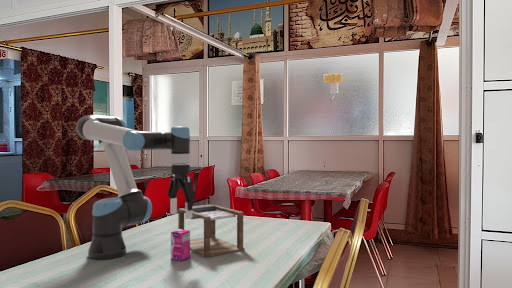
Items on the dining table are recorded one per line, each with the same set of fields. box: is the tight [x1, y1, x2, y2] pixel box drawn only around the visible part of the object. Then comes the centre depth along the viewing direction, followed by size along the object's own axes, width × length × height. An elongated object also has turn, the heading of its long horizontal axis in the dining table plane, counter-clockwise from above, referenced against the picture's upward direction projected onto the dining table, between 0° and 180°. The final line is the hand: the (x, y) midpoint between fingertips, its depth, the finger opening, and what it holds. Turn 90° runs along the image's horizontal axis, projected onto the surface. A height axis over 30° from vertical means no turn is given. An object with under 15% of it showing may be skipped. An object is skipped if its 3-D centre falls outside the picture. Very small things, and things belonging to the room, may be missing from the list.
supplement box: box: [170, 229, 191, 262], centre depth 162 cm, size 6×6×12 cm
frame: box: [177, 204, 246, 258], centre depth 180 cm, size 28×19×17 cm
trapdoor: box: [189, 203, 237, 221], centre depth 180 cm, size 20×15×5 cm
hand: (181, 216), depth 162 cm, fingers open, 13 cm apart
